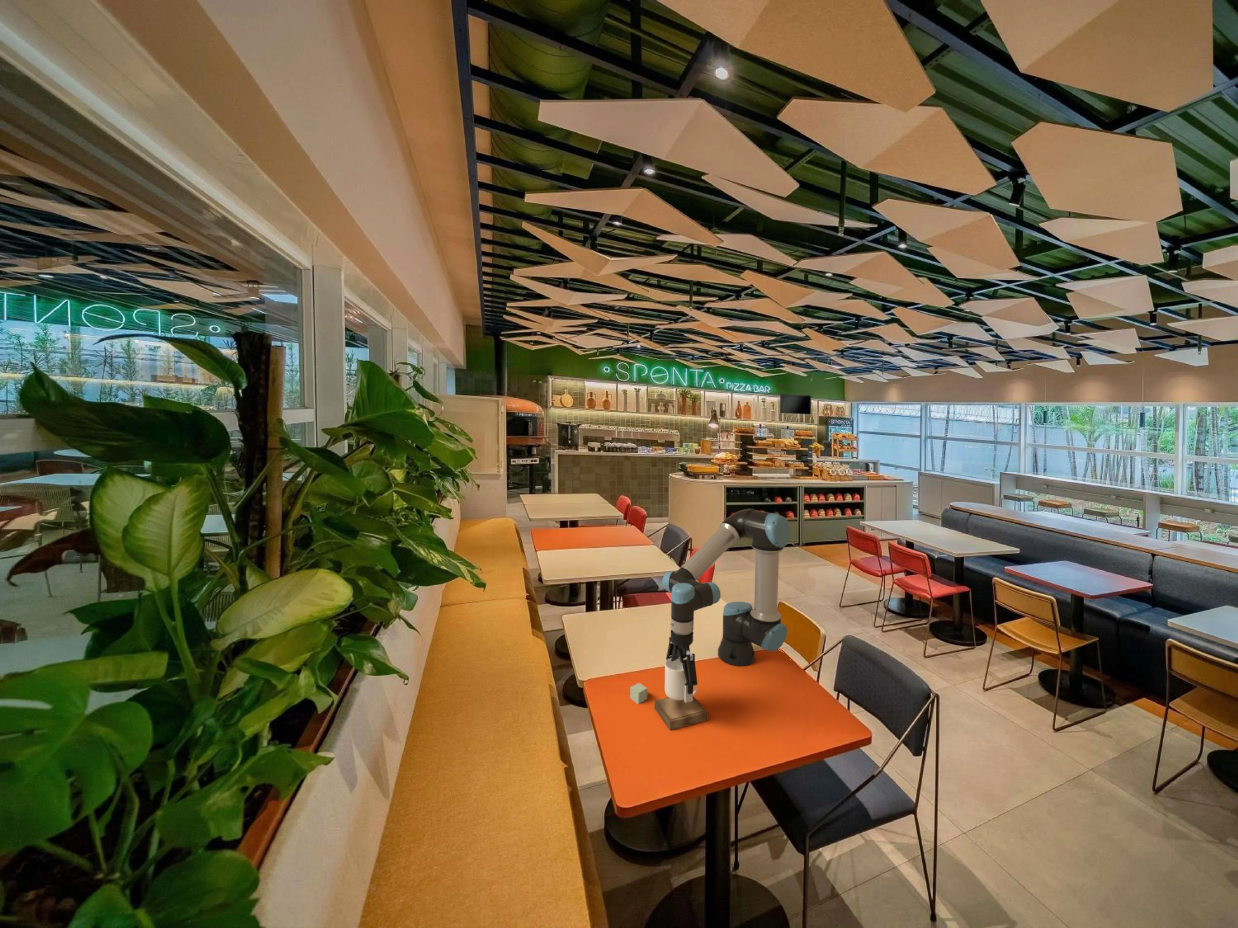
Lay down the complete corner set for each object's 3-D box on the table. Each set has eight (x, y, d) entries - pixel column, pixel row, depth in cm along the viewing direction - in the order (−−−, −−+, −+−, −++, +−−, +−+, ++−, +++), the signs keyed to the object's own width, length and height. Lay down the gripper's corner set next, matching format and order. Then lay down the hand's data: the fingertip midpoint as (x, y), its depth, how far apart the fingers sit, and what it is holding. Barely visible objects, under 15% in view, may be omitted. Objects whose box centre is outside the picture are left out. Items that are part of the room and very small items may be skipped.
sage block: (638, 693, 172) (639, 682, 171) (647, 699, 169) (647, 687, 168) (630, 698, 169) (630, 687, 169) (638, 704, 166) (638, 692, 165)
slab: (689, 699, 168) (689, 691, 168) (707, 720, 157) (707, 711, 157) (654, 708, 163) (654, 699, 163) (670, 730, 152) (670, 721, 152)
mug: (689, 708, 152) (690, 677, 150) (659, 694, 159) (660, 664, 158) (703, 696, 158) (704, 666, 157) (673, 683, 166) (674, 654, 165)
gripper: (657, 617, 166) (656, 676, 168) (688, 648, 145) (687, 714, 147) (676, 614, 169) (674, 672, 171) (709, 644, 147) (707, 709, 150)
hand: (680, 691), depth 159 cm, fingers closed on mug, 10 cm apart
